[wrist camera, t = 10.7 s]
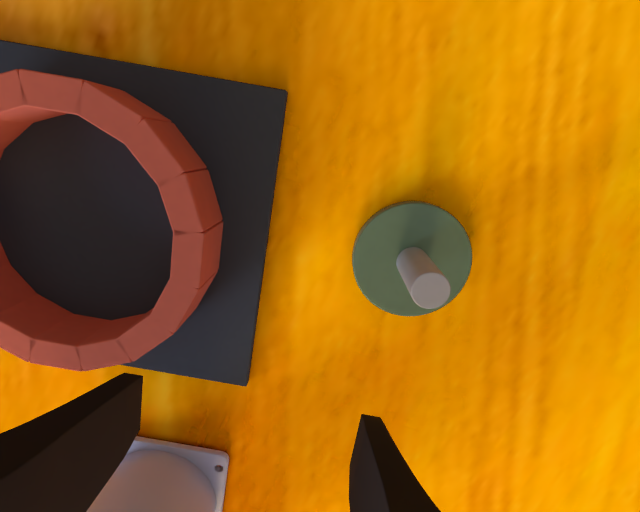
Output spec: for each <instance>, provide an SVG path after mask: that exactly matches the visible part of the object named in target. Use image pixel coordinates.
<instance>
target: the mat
mask: <svg viewBox="0 0 640 512" xmlns="http://www.w3.org/2000/svg"><path fill="white" fill-rule="evenodd" d="M15 69H26V70H32V71H37V72H43V73H49V74H55V75H60V76H66V77H72V78H78V79H83V80H87V81H90V82H94V83H98V84H101V85H105V86H109V87H113V88H116V89H120V90H122V91H125V92H126V93H128V94H130V95H131V96H133V97H134V98H136V99H138V100H139V101H141V102H142V103H144V104H146V105H147V106H149V107H150V108H152V109H154V110H155V111H157V112H158V113H160V114H161V115H163V116H165V117H166V118H168V119H169V120H171V121H172V122H171V123H174V124H175V125H176V127H177V128H178V129H179V131H180V132H181V133H182V135H183V136H184V137H185V139H186V140H187V141H188V143H189V144H190V145H191V146H192V148H193V149H194V150H195V152H196V153H197V154H198V156H199V157H200V158H201V160H202V161H203V162H204V164H205V165H206V166H207V168H206V169H207V170H208V171H209V174H210V177H211V180H212V184H213V187H214V191H215V194H216V197H217V201H218V204H219V207H220V211H221V214H222V218H223V220H222V221H223V232H222V242H221V251H220V261H219V269H218V272H217V274H216V275H215V277H214V279H213V281H212V282H211V284H210V286H209V287H208V289H207V291H206V293H205V294H204V296H203V298H202V300H201V301H200V303H199V305H198V306H197V308H196V309H195V310H194V312H193V313H192V314H191V315H190V316H189V317H188V318H187V320H186V321H185V322H184V323H183V324H182V325H181V326H180V327H179V329H178V330H177V331H176V332H175V333H174V334H173V335H172V336H170V337H169V338H168V339H166V340H165V341H163V342H162V343H160V344H159V345H157V346H156V347H155V348H153V349H152V350H150V351H149V352H147V353H146V354H144V355H143V356H141V357H140V358H139V359H137V360H136V361H134V362H133V361H132V362H130V363H124V364H120V365H125V366H131V367H137V368H143V369H148V370H154V371H160V372H166V373H171V374H177V375H183V376H189V377H194V378H200V379H206V380H212V381H217V382H223V383H229V384H235V385H240V386H247V383H248V381H249V373H250V366H251V359H252V351H253V344H254V337H255V329H256V322H257V315H258V307H259V300H260V293H261V285H262V278H263V271H264V263H265V256H266V249H267V241H268V234H269V227H270V219H271V212H272V205H273V198H274V190H275V183H276V176H277V168H278V161H279V154H280V146H281V139H282V132H283V124H284V117H285V110H286V102H287V95H288V92H287V91H286V90H282V89H276V88H271V87H265V86H259V85H254V84H248V83H242V82H237V81H231V80H225V79H219V78H214V77H208V76H202V75H197V74H191V73H185V72H180V71H174V70H168V69H163V68H157V67H151V66H146V65H140V64H134V63H128V62H123V61H117V60H111V59H106V58H100V57H94V56H89V55H83V54H77V53H72V52H66V51H60V50H55V49H49V48H43V47H38V46H32V45H26V44H20V43H15V42H9V41H3V40H0V73H4V72H8V71H11V70H15ZM0 242H1V245H2V247H3V249H4V251H5V254H6V256H7V258H8V260H9V262H10V265H11V266H12V267H13V268H14V269H15V270H16V271H17V272H18V273H19V274H20V276H21V277H22V278H23V279H24V280H25V281H26V282H27V283H28V284H29V285H30V286H31V287H32V288H33V290H34V291H35V292H36V293H37V294H39V295H41V296H42V297H44V298H46V299H48V300H50V301H51V302H53V303H55V304H57V305H59V306H61V307H62V308H64V309H66V310H68V311H70V312H71V313H73V314H78V315H83V316H89V317H95V318H101V319H106V320H115V319H120V318H125V317H130V316H135V315H140V314H144V313H147V312H148V311H150V310H151V309H152V308H154V306H155V305H156V303H157V301H158V299H159V297H160V295H161V294H162V292H163V290H164V288H165V286H166V284H167V283H168V281H169V279H170V271H171V256H172V242H173V230H172V227H171V224H170V221H169V218H168V215H167V212H166V209H165V206H164V203H163V200H162V197H161V194H160V191H159V188H158V185H157V184H156V183H155V182H154V180H153V179H152V178H151V177H150V175H149V174H148V173H147V172H146V170H145V169H144V168H143V167H142V165H141V164H140V163H139V162H138V160H137V159H136V158H135V157H134V155H133V154H132V153H131V151H130V150H129V149H128V148H127V146H126V145H125V144H124V143H122V142H121V141H119V140H117V139H116V138H114V137H112V136H111V135H109V134H108V133H106V132H104V131H103V130H101V129H99V128H98V127H96V126H95V125H93V124H91V123H90V122H88V121H86V120H85V119H83V118H82V117H80V116H78V115H74V114H64V115H60V116H57V117H53V118H49V119H45V120H42V121H38V122H34V123H32V124H31V125H30V126H29V127H28V128H27V129H26V130H25V131H24V132H23V133H21V134H20V135H19V136H18V137H17V138H16V139H15V140H14V141H13V142H12V143H10V144H9V145H8V146H7V147H6V148H5V149H4V151H3V154H2V156H1V159H0Z"/></svg>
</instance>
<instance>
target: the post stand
mask: <svg viewBox="0 0 640 512" xmlns="http://www.w3.org/2000/svg"><path fill="white" fill-rule="evenodd" d="M352 264H353V271H354V276H355V279H356V282H357V284H358V286H359V288H360V290H361V291H362V293H363V294H364V295H365V297H366V298H367V299H368V300H369V301H370V302H371V303H373V304H374V305H375V306H377V307H378V308H380V309H382V310H384V311H386V312H389V313H391V314H396V315H401V316H418V315H424V314H428V313H431V312H433V311H436V310H438V309H440V308H442V307H443V306H445V305H446V304H448V303H449V302H450V301H451V300H453V299H454V298H455V297H456V296H457V294H458V293H459V292H460V291H461V289H462V288H463V286H464V285H465V283H466V281H467V279H468V276H469V273H470V269H471V265H472V249H471V244H470V240H469V238H468V235H467V233H466V231H465V229H464V228H463V226H462V225H461V224H460V222H459V221H458V220H457V219H456V218H455V217H454V216H452V215H451V214H450V213H448V212H447V211H445V210H443V209H442V208H440V207H438V206H436V205H433V204H430V203H426V202H421V201H404V202H399V203H395V204H392V205H390V206H387V207H385V208H383V209H381V210H380V211H378V212H377V213H375V214H374V215H373V216H372V217H371V218H370V219H369V220H368V221H367V222H366V223H365V224H364V226H363V227H362V228H361V230H360V232H359V233H358V235H357V238H356V240H355V243H354V247H353V254H352Z"/></svg>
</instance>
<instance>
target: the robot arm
mask: <svg viewBox="0 0 640 512" xmlns="http://www.w3.org/2000/svg"><path fill="white" fill-rule="evenodd" d="M142 384H143V376H140V375H134V374H129V373H123V374H121V375H119V376H117V377H115V378H113V379H111V380H109V381H107V382H106V383H104V384H102V385H100V386H98V387H96V388H94V389H93V390H91V391H89V392H87V393H85V394H83V395H81V396H79V397H77V398H76V399H74V400H72V401H70V402H68V403H66V404H64V405H62V406H60V407H58V408H56V409H54V410H52V411H50V412H48V413H46V414H43V415H41V416H39V417H37V418H35V419H33V420H31V421H29V422H27V423H24V424H22V425H20V426H18V427H15V428H13V429H11V430H8V431H6V432H3V433H1V434H0V512H222V511H223V503H224V495H225V488H226V480H227V472H228V465H229V456H228V454H227V453H226V452H224V451H220V450H214V449H208V448H202V447H197V446H191V445H185V444H179V443H174V442H168V441H162V440H156V439H151V438H145V437H139V436H137V434H138V432H139V430H140V421H141V402H142ZM218 465H221V466H222V467H219V466H218ZM349 503H350V512H441V511H440V510H439V509H438V508H437V506H436V505H435V504H434V503H433V501H432V500H431V499H430V497H429V496H428V495H427V493H426V492H425V490H424V489H423V488H422V486H421V485H420V483H419V482H418V480H417V479H416V477H415V476H414V474H413V473H412V471H411V470H410V468H409V466H408V465H407V463H406V461H405V460H404V458H403V457H402V455H401V453H400V452H399V450H398V448H397V446H396V445H395V443H394V441H393V439H392V437H391V436H390V434H389V432H388V430H387V428H386V426H385V424H384V423H383V421H382V419H381V418H380V417H375V416H370V415H364V414H362V415H361V419H360V423H359V428H358V432H357V436H356V440H355V445H354V449H353V453H352V458H351V462H350V475H349Z"/></svg>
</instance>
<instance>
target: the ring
mask: <svg viewBox="0 0 640 512" xmlns="http://www.w3.org/2000/svg"><path fill="white" fill-rule="evenodd" d="M64 114H74V115H78V116H80V117H82V118H83V119H85V120H86V121H88V122H90V123H91V124H93V125H95V126H96V127H98V128H99V129H101V130H103V131H104V132H106V133H108V134H109V135H111V136H112V137H114V138H116V139H117V140H119V141H121V142H122V143H124V144H125V145H126V146H127V148H128V149H129V150H130V151H131V153H132V154H133V155H134V157H135V158H136V159H137V160H138V162H139V163H140V164H141V165H142V167H143V168H144V169H145V170H146V172H147V173H148V174H149V175H150V177H151V178H152V179H153V180H154V182H155V183H156V184H157V185H158V188H159V191H160V194H161V197H162V200H163V203H164V206H165V209H166V212H167V215H168V218H169V221H170V224H171V227H172V230H173V242H172V256H171V271H170V279H169V281H168V283H167V284H166V286H165V288H164V290H163V292H162V294H161V295H160V297H159V299H158V301H157V303H156V305H155V306H154V308H152V309H151V310H150V311H148V312H147V313H144V314H140V315H135V316H130V317H125V318H120V319H115V320H106V319H101V318H95V317H89V316H83V315H78V314H73V313H71V312H70V311H68V310H66V309H64V308H62V307H61V306H59V305H57V304H55V303H53V302H51V301H50V300H48V299H46V298H44V297H42V296H41V295H39V294H37V293H36V292H35V291H34V290H33V288H32V287H31V286H30V285H29V284H28V283H27V282H26V281H25V280H24V279H23V278H22V277H21V276H20V274H19V273H18V272H17V271H16V270H15V269H14V268H13V267H12V266H11V265H10V262H9V260H8V258H7V256H6V254H5V251H4V249H3V247H2V245H1V242H0V348H2V349H4V350H6V351H8V352H10V353H12V354H14V355H15V356H17V357H19V358H21V359H23V360H25V361H27V362H29V361H30V363H35V364H41V365H46V366H52V367H58V368H64V369H69V370H75V371H88V370H93V369H98V368H104V367H109V366H114V365H119V364H124V363H130V362H132V361H133V362H134V361H136V360H137V359H139V358H140V357H141V356H143V355H144V354H146V353H147V352H149V351H150V350H152V349H153V348H155V347H156V346H157V345H159V344H160V343H162V342H163V341H165V340H166V339H168V338H169V337H170V336H172V335H173V334H174V333H175V332H176V331H177V330H178V329H179V327H180V326H181V325H182V324H183V323H184V322H185V321H186V320H187V318H188V317H189V316H190V315H191V314H192V313H193V312H194V310H195V309H196V308H197V306H198V305H199V303H200V301H201V300H202V298H203V296H204V294H205V293H206V291H207V289H208V287H209V286H210V284H211V282H212V281H213V279H214V277H215V275H216V274H217V272H218V269H219V261H220V251H221V242H222V232H223V221H222V220H223V218H222V214H221V211H220V207H219V204H218V201H217V197H216V194H215V191H214V187H213V184H212V180H211V177H210V174H209V171H208V170H207V169H206V168H207V166H206V165H205V164H204V162H203V161H202V160H201V158H200V157H199V156H198V154H197V153H196V152H195V150H194V149H193V148H192V146H191V145H190V144H189V143H188V141H187V140H186V139H185V137H184V136H183V135H182V133H181V132H180V131H179V129H178V128H177V127H176V125H175V124H174V123H171V122H172V121H171V120H169V119H168V118H166V117H165V116H163V115H161V114H160V113H158V112H157V111H155V110H154V109H152V108H150V107H149V106H147V105H146V104H144V103H142V102H141V101H139V100H138V99H136V98H134V97H133V96H131V95H130V94H128V93H126V92H125V91H122V90H120V89H116V88H113V87H109V86H105V85H101V84H98V83H94V82H90V81H87V80H83V79H78V78H72V77H66V76H60V75H55V74H49V73H43V72H37V71H32V70H26V69H15V70H11V71H8V72H4V73H0V159H1V156H2V154H3V151H4V149H5V148H6V147H7V146H8V145H9V144H10V143H12V142H13V141H14V140H15V139H16V138H17V137H18V136H19V135H20V134H21V133H23V132H24V131H25V130H26V129H27V128H28V127H29V126H30V125H31V124H32V123H34V122H38V121H42V120H45V119H49V118H53V117H57V116H60V115H64Z"/></svg>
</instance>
